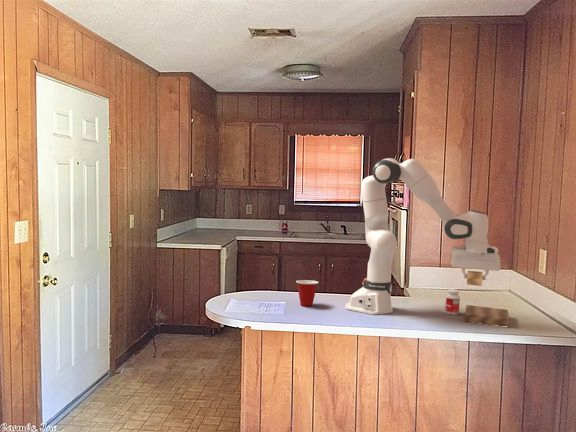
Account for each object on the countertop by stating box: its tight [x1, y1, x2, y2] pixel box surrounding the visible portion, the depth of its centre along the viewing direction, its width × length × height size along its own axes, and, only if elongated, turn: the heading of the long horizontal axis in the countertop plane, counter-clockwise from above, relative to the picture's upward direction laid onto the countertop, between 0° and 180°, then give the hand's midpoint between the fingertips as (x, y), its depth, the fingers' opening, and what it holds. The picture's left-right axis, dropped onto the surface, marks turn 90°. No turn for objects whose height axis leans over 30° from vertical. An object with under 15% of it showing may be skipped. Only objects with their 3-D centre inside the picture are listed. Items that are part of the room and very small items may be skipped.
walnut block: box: [464, 304, 510, 328], centre depth 221 cm, size 18×18×4 cm
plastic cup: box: [295, 279, 319, 308], centre depth 236 cm, size 11×11×12 cm
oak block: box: [466, 270, 484, 287], centre depth 213 cm, size 6×6×5 cm
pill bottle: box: [444, 288, 461, 316], centre depth 229 cm, size 6×6×11 cm
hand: (474, 279), depth 213 cm, fingers closed on oak block, 6 cm apart
